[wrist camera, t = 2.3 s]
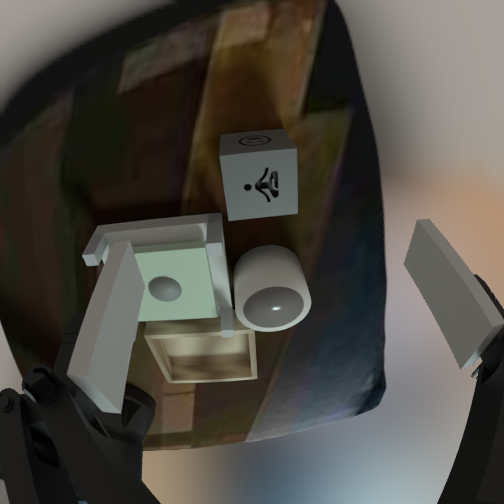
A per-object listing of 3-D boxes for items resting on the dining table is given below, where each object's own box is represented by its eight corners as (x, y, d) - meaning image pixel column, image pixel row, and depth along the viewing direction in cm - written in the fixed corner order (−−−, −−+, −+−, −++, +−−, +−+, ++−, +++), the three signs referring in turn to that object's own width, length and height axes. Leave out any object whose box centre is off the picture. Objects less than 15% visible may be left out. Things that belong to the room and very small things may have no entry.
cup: (236, 298, 34) (238, 335, 30) (230, 248, 30) (232, 284, 26) (298, 292, 34) (307, 328, 30) (302, 242, 30) (314, 277, 26)
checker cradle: (131, 310, 34) (124, 341, 31) (97, 225, 27) (82, 255, 23) (232, 304, 35) (233, 336, 31) (221, 212, 27) (221, 242, 24)
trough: (170, 364, 42) (168, 383, 39) (147, 314, 35) (143, 335, 32) (255, 360, 42) (257, 378, 40) (252, 307, 35) (254, 329, 33)
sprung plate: (136, 314, 32) (135, 322, 31) (110, 249, 26) (107, 256, 26) (217, 309, 32) (217, 317, 31) (205, 240, 27) (205, 248, 26)
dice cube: (285, 183, 26) (297, 213, 22) (227, 190, 26) (228, 221, 22) (283, 128, 23) (296, 148, 19) (220, 134, 23) (219, 156, 19)
